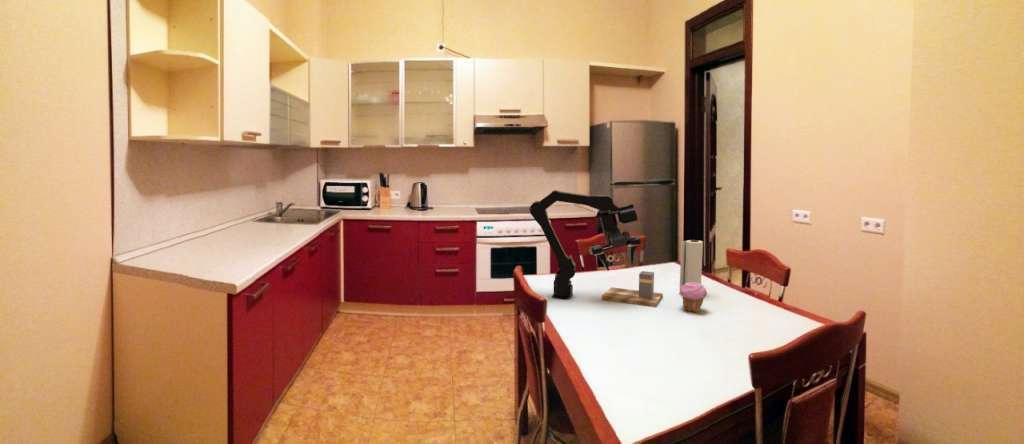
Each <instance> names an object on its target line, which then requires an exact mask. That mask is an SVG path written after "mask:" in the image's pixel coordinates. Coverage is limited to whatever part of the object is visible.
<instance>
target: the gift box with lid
mask: <svg viewBox="0 0 1024 444" xmlns="http://www.w3.org/2000/svg"><path fill="white" fill-rule="evenodd" d="M638 275H639V276H638V291H639V297H641V298H649V299H651V298H652V297H653V292H654V290H655V289H654V288H655V287H654V286H655V283H654V282H655V272H654V271H646V270H641V271H640V272H639V274H638Z"/></svg>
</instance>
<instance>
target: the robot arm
mask: <svg viewBox="0 0 1024 444" xmlns="http://www.w3.org/2000/svg"><path fill="white" fill-rule="evenodd" d="M556 202H562V203H569V204H574V205H575V204H576V205H582V206H583V205H584V206H588V207H590V208H593V209H597V210H599V211H597V213H596V215H595V216H594V218H595V219H600V223H601V227H602V231H603V232H602V233H603V235H604V239H605V244H604V245H601V244H600V245H599V244H598V245H593V246H590V247H589V249H588V251H589V255H591V256H592V255H593V256H594V257H597V258H598V259H599V260H600V261H601V264H602V265H603V266H604V268H605V269H606V271H607V272H609V271H610V268H609V264H608V261H607V258H606V254H605V253H604V252H603V251H607V250H611V249H612V250H613V249H616V248H620V247H624V246H625V247H626V249H627V256H628V259H629V264H630V265H631V266H633V265H634V257H635V251H636V249H637V248H638V247H639V245H640V244H642V239H641V237H640V236H630V232H629V231H628V230H627V231H623V232H621V230H620V228H619V224H618V223H621V224H622V225H627V224H632V223H635V222H638V214H637V212H636V209H635V206H634V204H633V203H629V204H627V205H623V206H618V204H615V203H614V202H613V199H612V198H611V196H610V195H608V194H589V195H588V194H583V193H582V194H581V193H575V192H574V193H573V192H566V191H562V190H557V189H555V190H554V189H553V190H552V191H551V192H550V193H549V194H548V195H546V196H544V198H542V199H540V200H536V201H533V203H531V205H530V206H529V213H530V215H531V216H532V217H533V219H534V221H535V222H536V223H537V224H538V226H540V228H541V230H542V232H543V233H544V236H545V238H546V240H547V242H548V244H549V246H550V248H551V250H552V252H553V254H554V257H555V258H556V263H557V267H558V269H557V271H556V272H555V273H554V280H553V294H552V295H551V297H552V298H555V299H556V298H558V299H564V300H568V299H570V298H571V297H572V296H573V295H574V294H573V290H574V289H573V287H574V285H573V284H572V278H574V277H575V275H576V268H577V267H576V264H577V263H576V262H575V261H574V259H573V256H572V254H570V255H569V256H568V255H567V254H566V252H565V250H564V248H563V246H562V244H561V242H560V240H559V239H558V236H557V234H556V233H555V232H556V231H555V229H554V228H553V226H552V224H551V221H550V218H549V214H548V208H550V207H551V206H553V204H554V203H556ZM600 211H602V212H600ZM609 211H610V212H611V213H609Z"/></svg>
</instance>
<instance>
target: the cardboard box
mask: <svg viewBox="0 0 1024 444" xmlns="http://www.w3.org/2000/svg"><path fill="white" fill-rule="evenodd" d="M662 299H664V294H663V293H661V292H654V291H653V297H652V298H651V299H649V298H641V297H639V289H638V290H637V289H628V288H619V287H612V286H611V287H610V288H609V289H608V290H607V291H606V292H605V293H603V294H602V295H601V300H602V301H609V302H616V303H624V304H631V305H638V306H646V307H653V308H657V306H658V305H659V304H660V302H661V301H662Z"/></svg>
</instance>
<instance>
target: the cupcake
mask: <svg viewBox="0 0 1024 444" xmlns="http://www.w3.org/2000/svg"><path fill="white" fill-rule="evenodd" d="M679 291H680V296H681V297H682V307H683V309H684V310H685V311H689V312H693V313H698V312H699V310H700V309H701V307H702V305H703V302H704V299H705V298H706V297H708V291H707V289H706V287H705V286H704V285H703V284H702V283H701V284H700V283H696V282H689V283H685V284H684V285H683V286H681V288H680V287H679Z"/></svg>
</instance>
